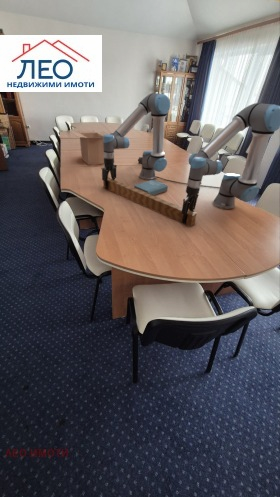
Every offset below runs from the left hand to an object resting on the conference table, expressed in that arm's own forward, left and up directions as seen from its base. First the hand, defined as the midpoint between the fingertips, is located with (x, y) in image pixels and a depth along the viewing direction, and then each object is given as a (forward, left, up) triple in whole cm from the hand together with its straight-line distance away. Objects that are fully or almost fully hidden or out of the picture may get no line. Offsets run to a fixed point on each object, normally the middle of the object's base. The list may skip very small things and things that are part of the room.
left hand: (109, 187), depth 178 cm
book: (-33, +4, -1) cm, 33 cm away
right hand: (-49, +54, 0) cm, 73 cm away
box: (+18, -77, -1) cm, 79 cm away
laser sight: (-41, -72, -1) cm, 83 cm away
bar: (-24, +27, -1) cm, 36 cm away
